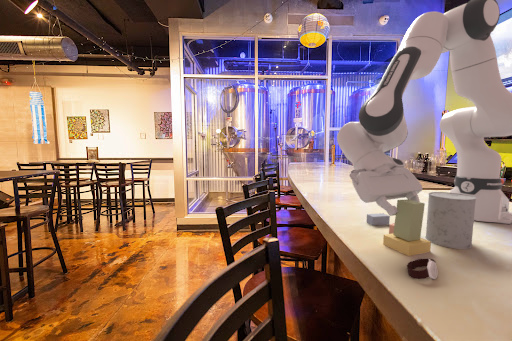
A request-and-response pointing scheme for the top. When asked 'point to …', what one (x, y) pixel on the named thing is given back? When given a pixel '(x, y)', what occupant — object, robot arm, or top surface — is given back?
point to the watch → (422, 274)
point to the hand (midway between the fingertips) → (407, 212)
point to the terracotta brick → (391, 228)
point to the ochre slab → (407, 245)
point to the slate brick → (378, 219)
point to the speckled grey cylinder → (450, 219)
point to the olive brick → (409, 220)
